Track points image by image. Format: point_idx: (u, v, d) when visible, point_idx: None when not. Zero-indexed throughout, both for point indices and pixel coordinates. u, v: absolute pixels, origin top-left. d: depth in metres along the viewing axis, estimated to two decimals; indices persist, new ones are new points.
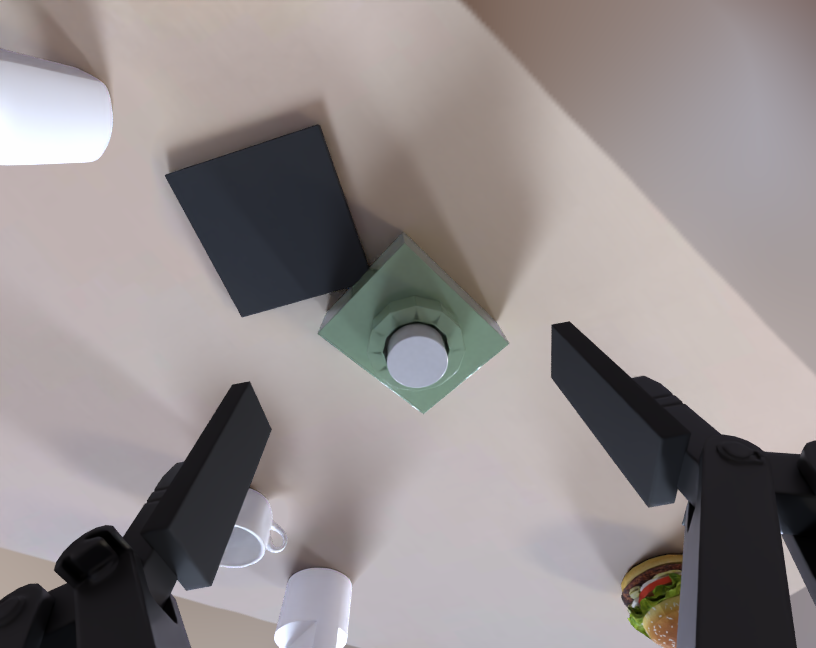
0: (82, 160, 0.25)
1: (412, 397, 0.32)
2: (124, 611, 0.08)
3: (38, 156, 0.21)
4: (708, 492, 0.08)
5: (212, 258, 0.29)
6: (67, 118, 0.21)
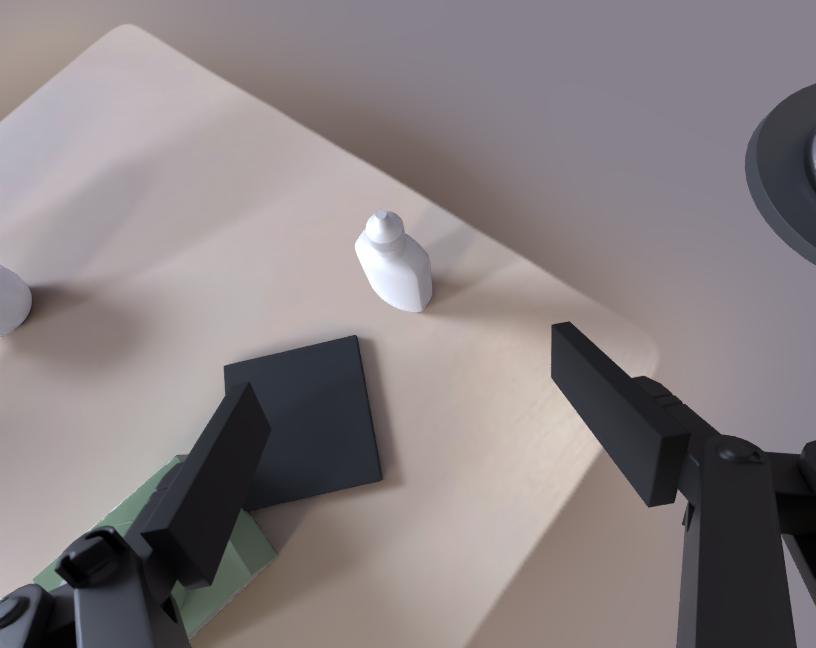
0: (369, 281, 0.31)
1: None
2: (124, 611, 0.08)
3: (364, 267, 0.28)
4: (708, 492, 0.08)
5: (283, 354, 0.31)
6: (391, 291, 0.28)
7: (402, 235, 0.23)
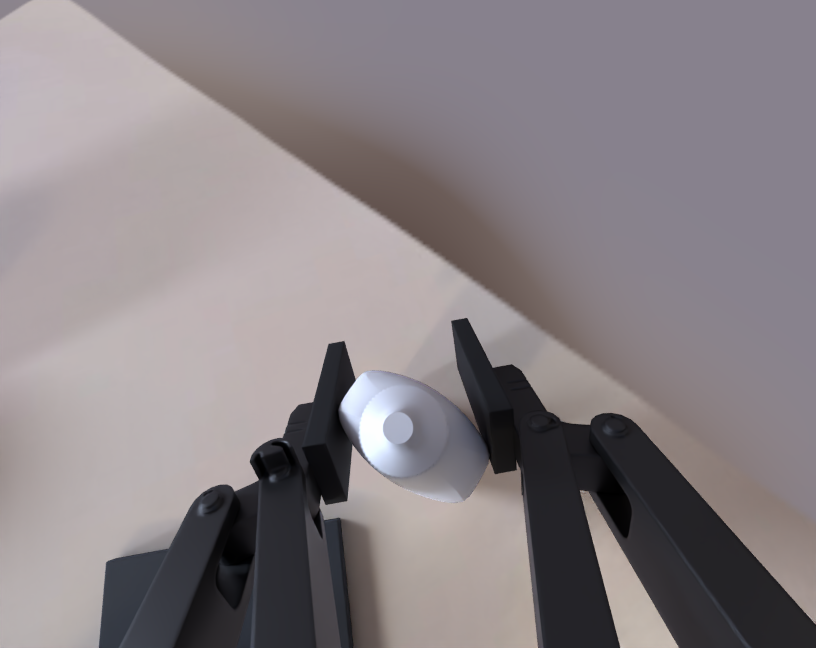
0: None
1: None
2: (290, 516, 0.09)
3: None
4: (527, 464, 0.09)
5: None
6: None
7: None
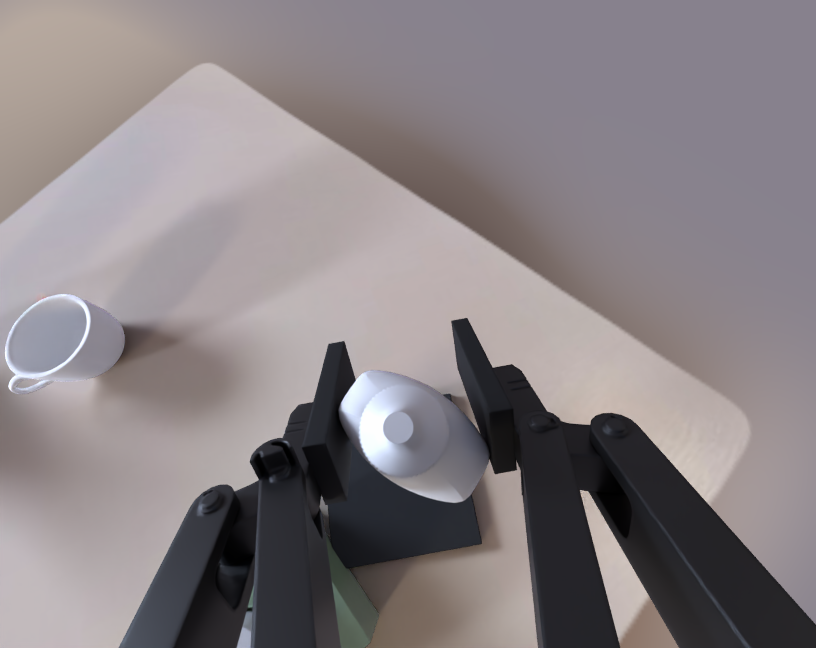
0: None
1: None
2: (290, 515, 0.09)
3: None
4: (527, 464, 0.09)
5: None
6: None
7: None
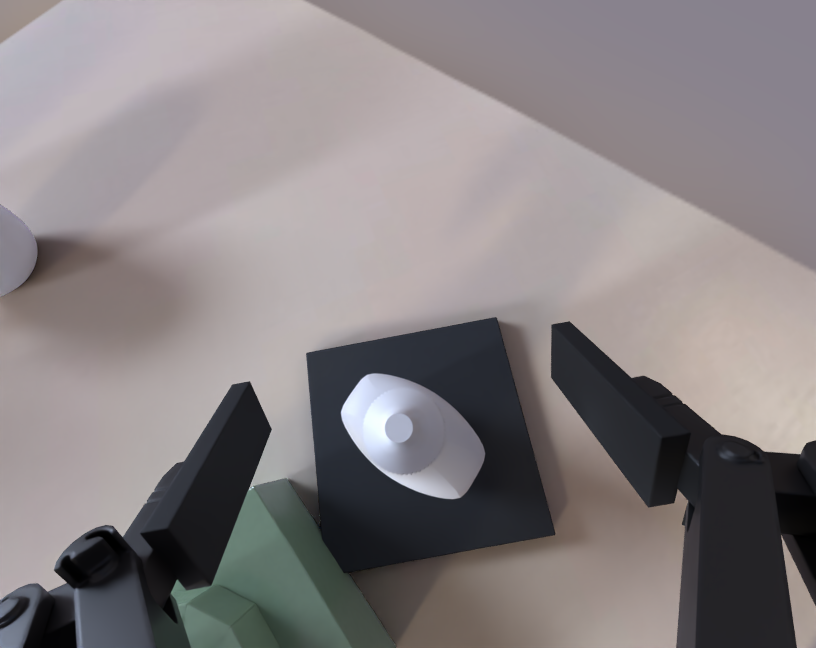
0: None
1: None
2: (124, 611, 0.08)
3: None
4: (708, 492, 0.08)
5: (392, 340, 0.22)
6: None
7: None
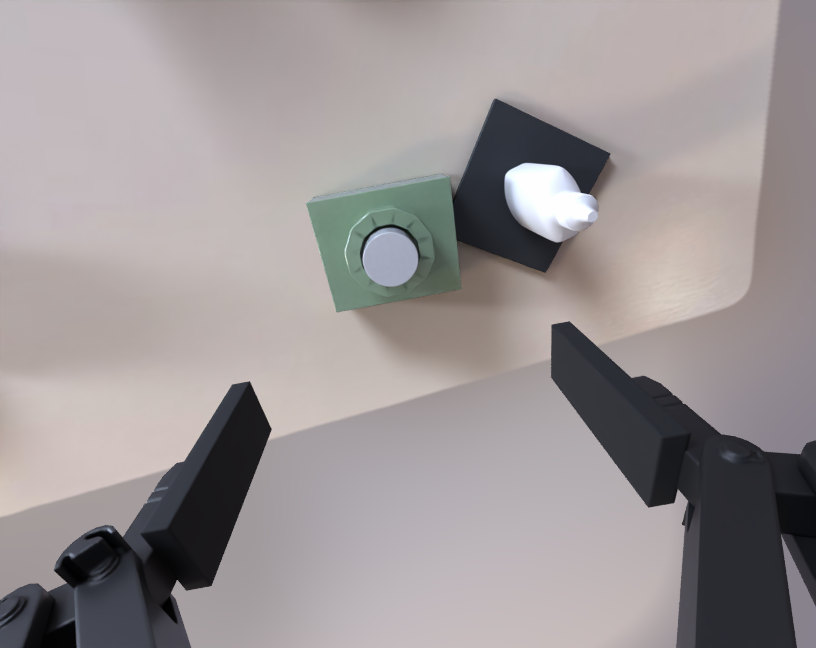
0: (510, 177, 0.31)
1: (332, 207, 0.30)
2: (124, 611, 0.08)
3: (525, 187, 0.28)
4: (708, 492, 0.08)
5: (548, 127, 0.31)
6: (524, 216, 0.31)
7: None
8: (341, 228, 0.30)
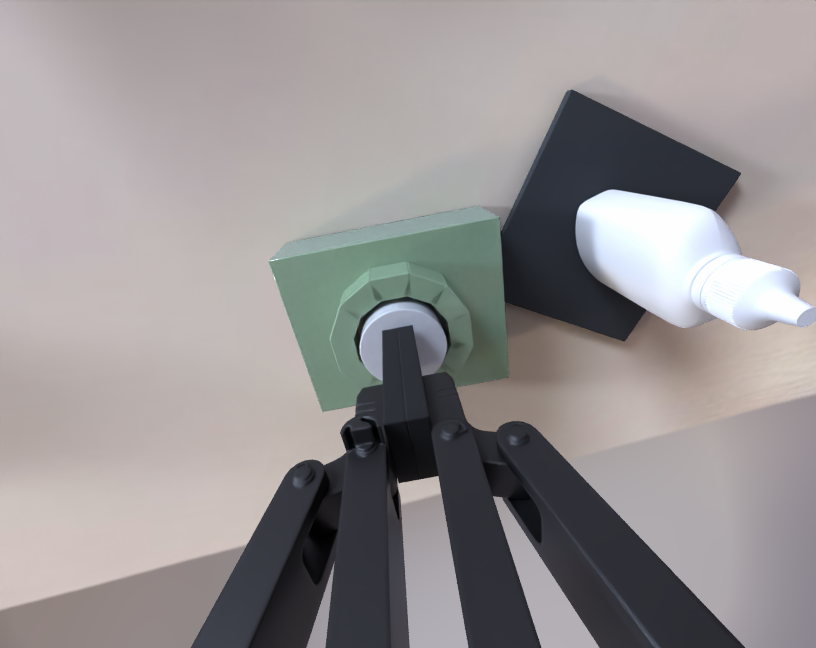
0: (590, 213, 0.20)
1: (310, 266, 0.19)
2: (373, 493, 0.09)
3: (628, 236, 0.17)
4: (442, 474, 0.09)
5: (651, 134, 0.20)
6: (616, 276, 0.19)
7: None
8: (326, 297, 0.19)
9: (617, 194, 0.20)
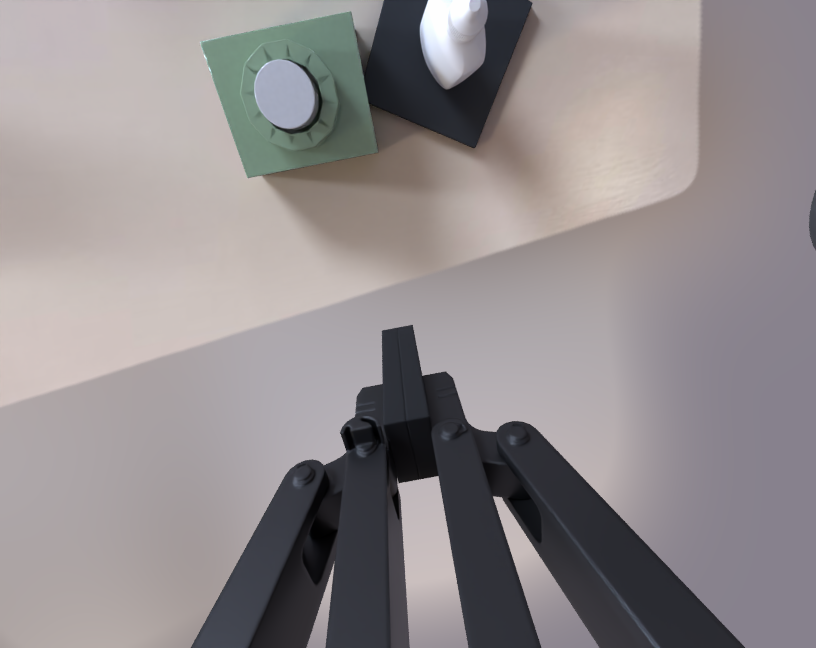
0: (421, 22, 0.30)
1: (228, 47, 0.28)
2: (373, 493, 0.09)
3: (426, 15, 0.27)
4: (442, 474, 0.09)
5: None
6: (434, 59, 0.29)
7: (477, 32, 0.23)
8: (241, 74, 0.29)
9: None
